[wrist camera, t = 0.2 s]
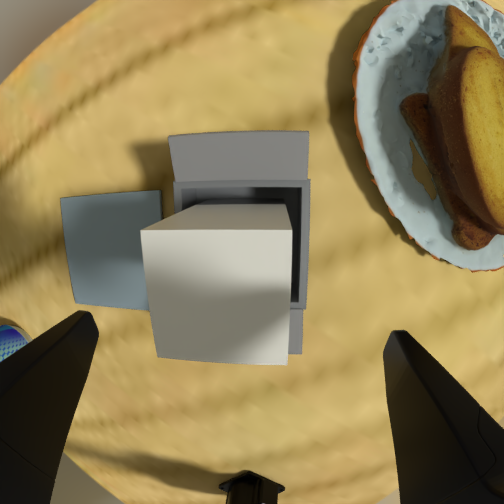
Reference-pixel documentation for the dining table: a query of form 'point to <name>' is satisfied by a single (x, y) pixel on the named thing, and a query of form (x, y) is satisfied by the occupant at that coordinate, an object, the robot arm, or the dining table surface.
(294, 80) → the dining table surface
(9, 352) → the beer can
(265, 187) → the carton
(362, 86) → the food on plate
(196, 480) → the dining table surface
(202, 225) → the box
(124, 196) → the rubber mat
